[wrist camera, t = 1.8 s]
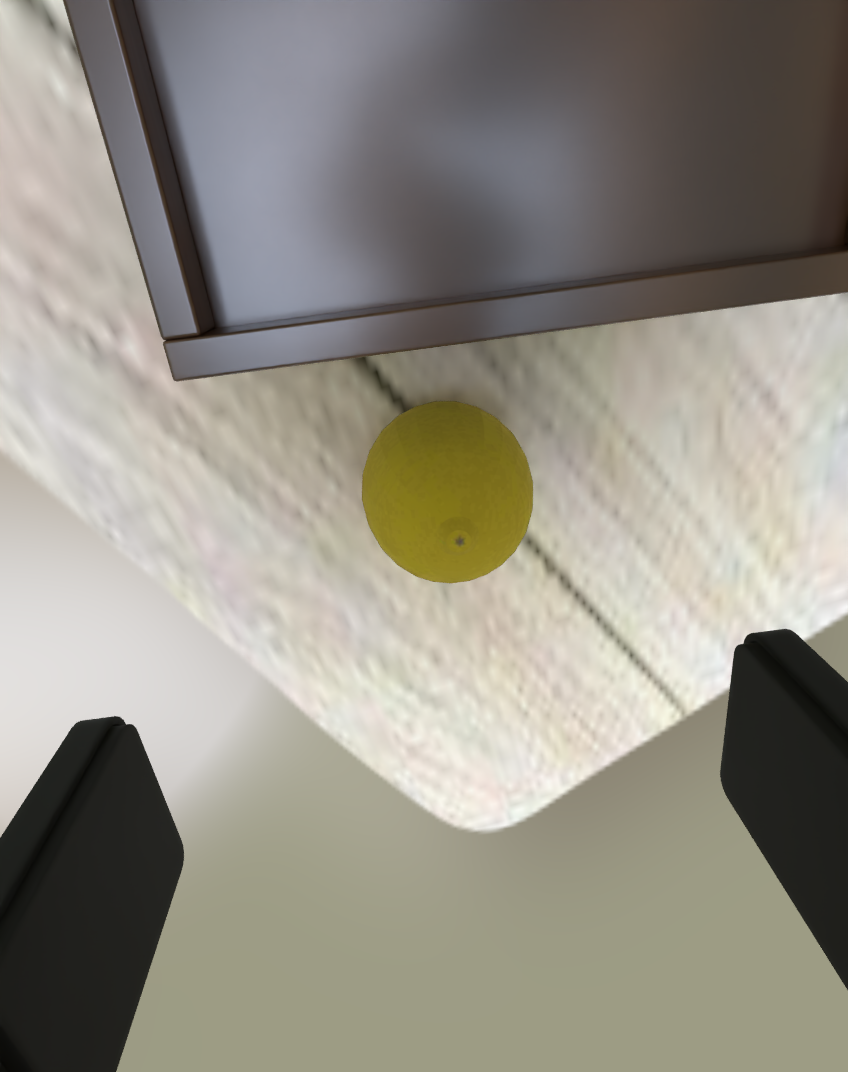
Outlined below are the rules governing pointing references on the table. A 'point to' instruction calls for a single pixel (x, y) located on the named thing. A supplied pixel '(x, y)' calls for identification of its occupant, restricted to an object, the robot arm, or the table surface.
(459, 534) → the lemon
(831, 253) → the shelf
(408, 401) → the table surface
